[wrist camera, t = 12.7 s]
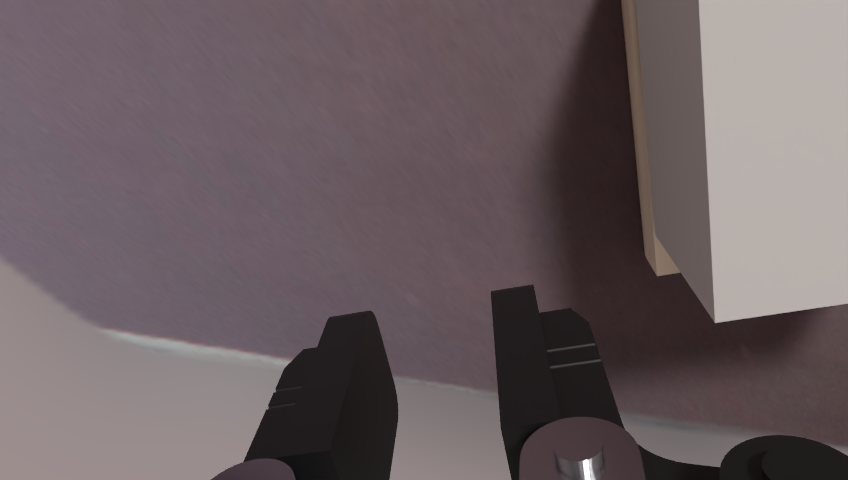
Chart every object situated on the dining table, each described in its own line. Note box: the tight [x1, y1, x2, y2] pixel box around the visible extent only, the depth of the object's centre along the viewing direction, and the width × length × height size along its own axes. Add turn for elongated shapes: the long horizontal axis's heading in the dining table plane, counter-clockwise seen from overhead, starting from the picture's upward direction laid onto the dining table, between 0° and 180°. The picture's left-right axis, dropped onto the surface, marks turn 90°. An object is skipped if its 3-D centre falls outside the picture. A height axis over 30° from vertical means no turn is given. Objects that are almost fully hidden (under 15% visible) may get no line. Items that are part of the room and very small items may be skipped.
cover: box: [635, 0, 848, 323], centre depth 20 cm, size 10×11×7 cm
